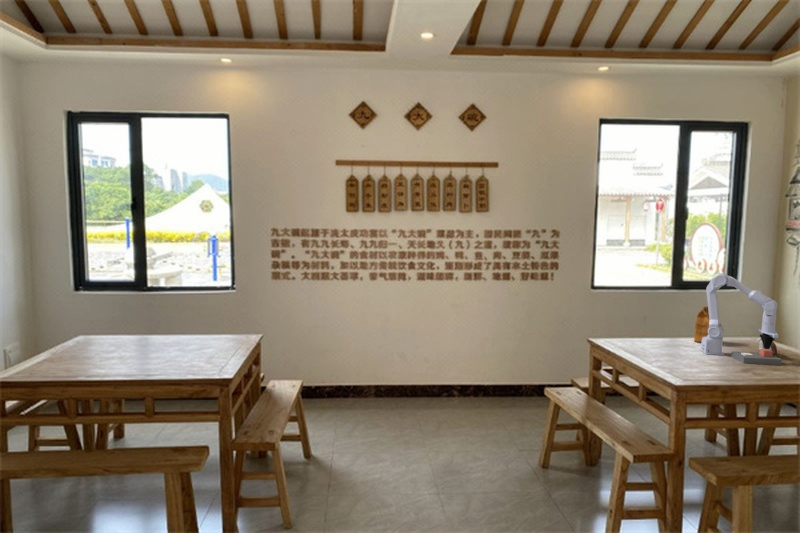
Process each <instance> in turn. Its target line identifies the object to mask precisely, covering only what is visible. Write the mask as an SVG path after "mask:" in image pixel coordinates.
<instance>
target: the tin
mask: <svg viewBox="0 0 800 533" xmlns="http://www.w3.org/2000/svg"><path fill="white" fill-rule="evenodd" d="M777 348H778V347H777V345H776V343H775V342H774V341H773V342H772V344H771V346H770V348H769V350H771V351H773V353H772V355H773V356H775V357H777V353H778V349H777ZM760 349H764V348H763V343H762V339H761V338H760V339H758V350H759V351H760Z"/></svg>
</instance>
